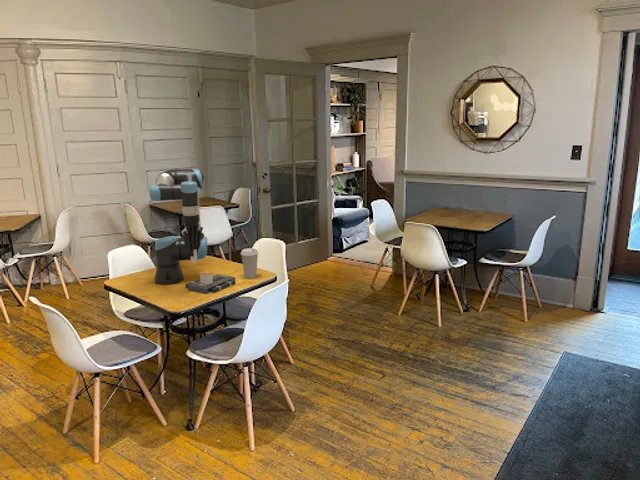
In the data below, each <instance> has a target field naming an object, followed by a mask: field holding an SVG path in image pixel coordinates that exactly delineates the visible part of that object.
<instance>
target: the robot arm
mask: <svg viewBox="0 0 640 480" xmlns="http://www.w3.org/2000/svg"><path fill="white" fill-rule="evenodd" d="M154 182H155V184H153V185H150V186H149V199H150V200H151V201H156V202H160V201H162V202H163V201H181V210H182V221H183V223H184V226H183V227H184V228H183V230H180V235H181V238H179V237H178V236H177V235H169V236H164V237H161V238H158V239H157V240H155V242H154V251H155V261H156V270H155V275H154V278H153V279H154V281H153V282H154V283H155V284H157V285H162V286H163V285H173V284H175V285H176V284H179V283H181V282H183V281H184V280H185V275H184V273H183V270H182V267H181V265H180V263H181V261H182V262H183V261H190V263H191V264H196V263H198V261H199V260H203V259H206V258H207V252H208V237H207V236H205V233H203V230H204V227H203V226H201V212H200V211H201V210H200V198H199V195H200V194H201V192H202V190H203V189H204V182H203V177H202V172H201V171H200V170H199V169H198V168H178V169H176V168H175V169H174V168H173V169H168V170H164V171H163V172H160V173H159V174H158V175H156V178H155V181H154Z"/></svg>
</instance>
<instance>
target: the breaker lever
mask: <svg viewBox="0 0 640 480" xmlns="http://www.w3.org/2000/svg"><path fill="white" fill-rule="evenodd" d="M213 276H214V275H213V271H207V270H204V271H200V272H199V279H200V283H202V284H207V285H209V284H211V283H213Z"/></svg>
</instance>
